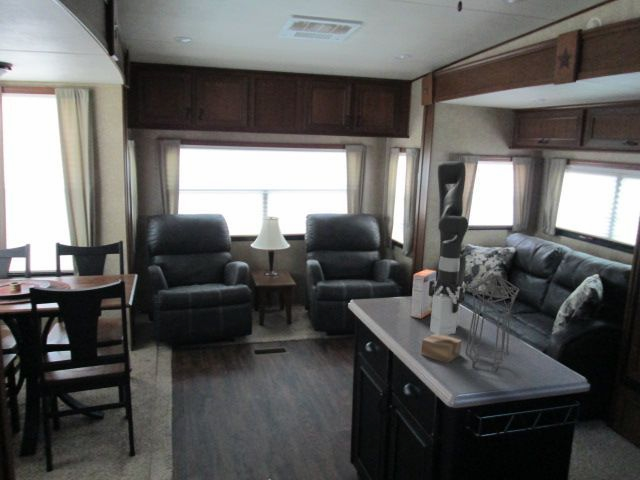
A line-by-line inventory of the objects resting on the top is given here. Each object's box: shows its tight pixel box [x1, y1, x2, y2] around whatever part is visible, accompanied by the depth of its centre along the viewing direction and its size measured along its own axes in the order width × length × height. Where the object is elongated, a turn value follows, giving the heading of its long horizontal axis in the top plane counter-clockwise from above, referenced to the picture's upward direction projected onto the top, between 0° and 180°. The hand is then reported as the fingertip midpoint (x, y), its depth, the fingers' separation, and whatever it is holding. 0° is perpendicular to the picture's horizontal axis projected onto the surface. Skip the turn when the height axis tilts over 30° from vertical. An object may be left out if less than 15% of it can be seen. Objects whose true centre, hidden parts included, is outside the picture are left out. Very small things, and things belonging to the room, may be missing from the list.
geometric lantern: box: [464, 273, 520, 372], centre depth 192 cm, size 16×16×35 cm
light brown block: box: [420, 333, 462, 364], centre depth 203 cm, size 11×11×6 cm
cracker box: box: [410, 268, 437, 320], centre depth 250 cm, size 14×6×21 cm, turn 144°
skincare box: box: [429, 294, 459, 336], centre depth 201 cm, size 8×6×15 cm
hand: (444, 310), depth 201 cm, fingers closed on skincare box, 7 cm apart
